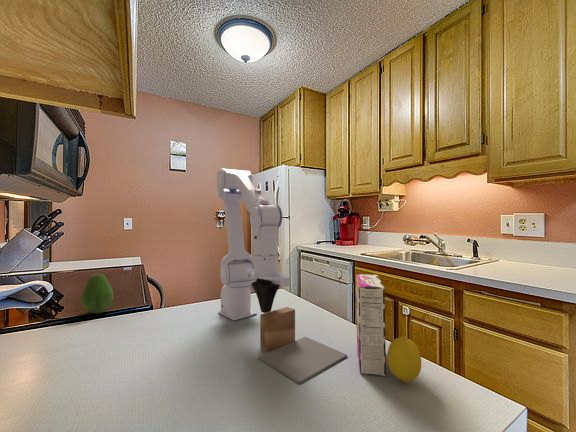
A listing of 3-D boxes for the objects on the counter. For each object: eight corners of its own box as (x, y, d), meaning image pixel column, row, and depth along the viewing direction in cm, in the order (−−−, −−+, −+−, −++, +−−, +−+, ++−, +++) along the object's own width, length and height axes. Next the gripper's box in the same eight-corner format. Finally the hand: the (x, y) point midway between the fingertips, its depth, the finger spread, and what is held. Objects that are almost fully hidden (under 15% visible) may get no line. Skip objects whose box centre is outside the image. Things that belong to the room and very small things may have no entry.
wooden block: (259, 348, 61) (259, 314, 61) (286, 337, 67) (286, 306, 67) (268, 353, 59) (268, 317, 59) (295, 341, 65) (295, 309, 65)
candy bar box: (355, 347, 62) (355, 273, 62) (379, 349, 61) (378, 274, 61) (358, 375, 51) (357, 285, 51) (386, 378, 50) (386, 286, 50)
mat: (258, 358, 57) (258, 356, 57) (305, 338, 66) (305, 336, 66) (299, 384, 48) (299, 381, 48) (347, 356, 57) (347, 354, 57)
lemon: (383, 373, 51) (383, 329, 51) (413, 373, 51) (413, 330, 51) (393, 391, 46) (393, 343, 46) (427, 392, 46) (427, 343, 46)
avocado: (98, 308, 89) (98, 270, 89) (119, 309, 87) (119, 271, 87) (74, 317, 81) (74, 276, 81) (96, 318, 79) (97, 277, 79)
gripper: (235, 253, 69) (235, 307, 69) (271, 259, 58) (272, 324, 58) (258, 251, 74) (258, 302, 74) (296, 256, 63) (296, 316, 63)
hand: (266, 311), depth 66 cm, fingers closed
